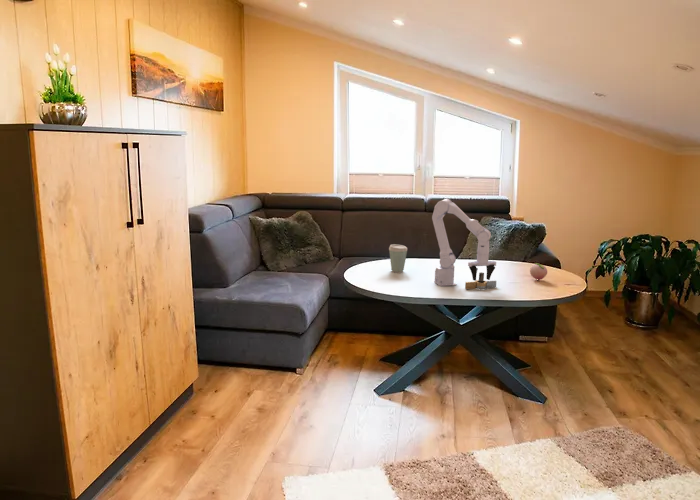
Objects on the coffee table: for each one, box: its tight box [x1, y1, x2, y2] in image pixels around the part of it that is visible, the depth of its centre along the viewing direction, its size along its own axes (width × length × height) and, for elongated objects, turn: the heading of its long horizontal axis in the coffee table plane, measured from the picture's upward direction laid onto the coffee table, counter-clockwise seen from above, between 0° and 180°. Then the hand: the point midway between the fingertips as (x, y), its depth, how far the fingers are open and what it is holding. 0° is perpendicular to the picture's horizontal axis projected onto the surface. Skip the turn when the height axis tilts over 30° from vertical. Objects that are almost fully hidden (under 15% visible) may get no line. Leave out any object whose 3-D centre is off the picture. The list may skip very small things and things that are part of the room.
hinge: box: [464, 279, 497, 291], centre depth 283 cm, size 17×6×4 cm, turn 104°
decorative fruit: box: [529, 262, 548, 281], centre depth 299 cm, size 9×8×10 cm
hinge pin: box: [478, 272, 485, 283], centre depth 282 cm, size 2×2×8 cm
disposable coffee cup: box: [388, 243, 408, 274], centre depth 313 cm, size 11×11×15 cm
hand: (481, 279), depth 282 cm, fingers open, 7 cm apart
